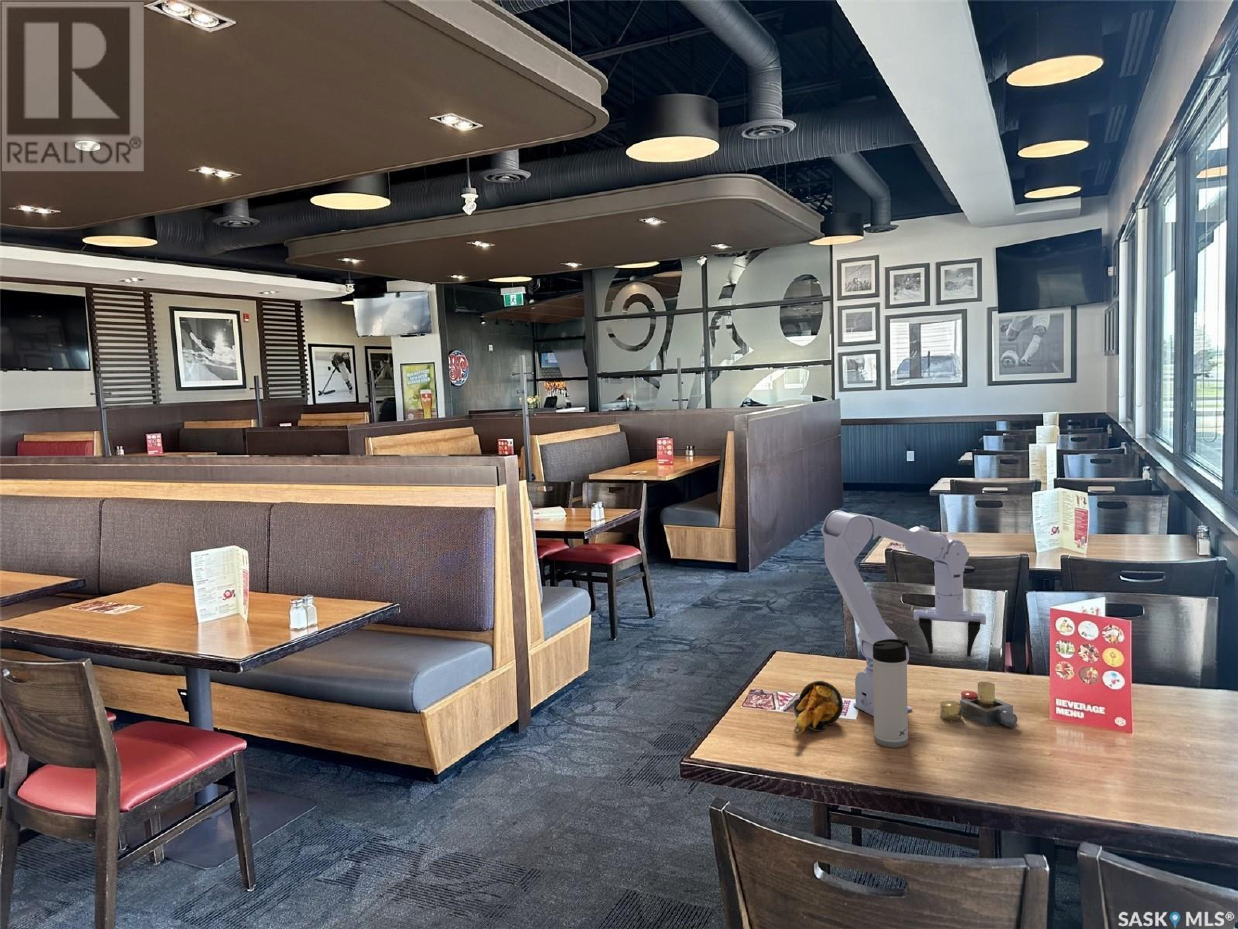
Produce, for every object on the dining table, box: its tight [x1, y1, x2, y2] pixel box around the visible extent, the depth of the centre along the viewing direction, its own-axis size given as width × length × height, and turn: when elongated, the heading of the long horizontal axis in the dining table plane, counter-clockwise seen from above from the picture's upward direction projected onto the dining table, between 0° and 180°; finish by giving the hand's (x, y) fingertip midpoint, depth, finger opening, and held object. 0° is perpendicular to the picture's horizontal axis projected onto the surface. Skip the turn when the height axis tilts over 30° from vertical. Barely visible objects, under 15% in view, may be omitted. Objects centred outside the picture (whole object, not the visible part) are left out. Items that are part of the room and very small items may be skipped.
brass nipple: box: [977, 681, 996, 709], centre depth 166 cm, size 3×3×6 cm
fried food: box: [792, 680, 844, 736], centre depth 164 cm, size 9×11×18 cm
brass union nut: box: [939, 700, 962, 723], centre depth 167 cm, size 4×4×3 cm
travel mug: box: [873, 638, 909, 749], centre depth 156 cm, size 6×7×20 cm
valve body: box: [959, 690, 1018, 729], centre depth 166 cm, size 7×13×4 cm, turn 21°
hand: (949, 653), depth 177 cm, fingers open, 7 cm apart
